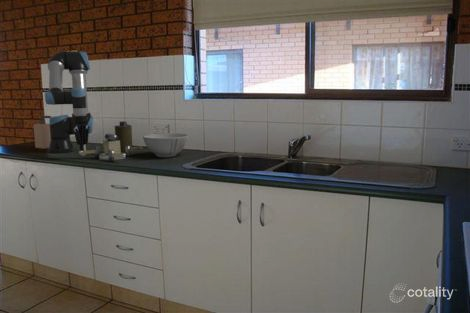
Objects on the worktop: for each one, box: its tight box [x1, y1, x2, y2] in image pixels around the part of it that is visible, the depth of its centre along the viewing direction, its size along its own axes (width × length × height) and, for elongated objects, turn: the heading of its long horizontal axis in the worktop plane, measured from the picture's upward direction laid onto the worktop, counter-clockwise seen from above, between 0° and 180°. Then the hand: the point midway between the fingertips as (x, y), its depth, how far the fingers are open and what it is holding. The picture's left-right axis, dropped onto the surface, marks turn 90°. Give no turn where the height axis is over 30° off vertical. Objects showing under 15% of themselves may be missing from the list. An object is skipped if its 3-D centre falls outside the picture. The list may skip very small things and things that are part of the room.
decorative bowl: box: [142, 132, 189, 158], centre depth 255 cm, size 27×27×12 cm
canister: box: [114, 120, 134, 155], centre depth 262 cm, size 11×10×20 cm
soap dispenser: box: [32, 115, 52, 149], centre depth 293 cm, size 13×9×22 cm
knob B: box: [78, 146, 101, 159], centre depth 248 cm, size 12×3×6 cm, turn 115°
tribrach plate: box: [98, 133, 127, 162], centre depth 247 cm, size 15×15×14 cm
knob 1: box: [108, 150, 127, 162], centre depth 236 cm, size 12×3×6 cm, turn 61°
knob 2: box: [125, 145, 144, 157], centre depth 257 cm, size 12×3×6 cm, turn 133°
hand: (83, 155), depth 249 cm, fingers closed
